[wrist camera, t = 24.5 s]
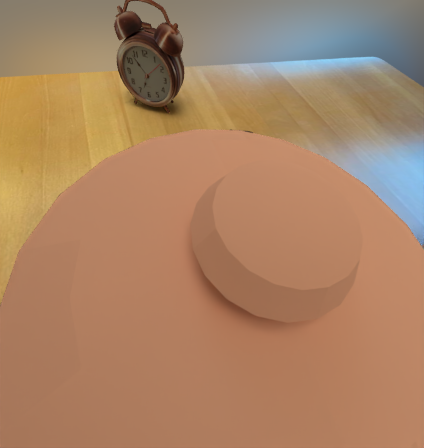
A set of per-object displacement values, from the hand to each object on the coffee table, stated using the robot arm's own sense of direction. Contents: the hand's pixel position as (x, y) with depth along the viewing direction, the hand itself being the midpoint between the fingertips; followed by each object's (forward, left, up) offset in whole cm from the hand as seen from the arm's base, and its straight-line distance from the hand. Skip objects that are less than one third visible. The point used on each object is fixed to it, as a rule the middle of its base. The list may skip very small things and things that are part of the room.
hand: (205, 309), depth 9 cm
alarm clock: (+41, +8, -16) cm, 44 cm away
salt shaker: (-1, 0, -11) cm, 11 cm away
